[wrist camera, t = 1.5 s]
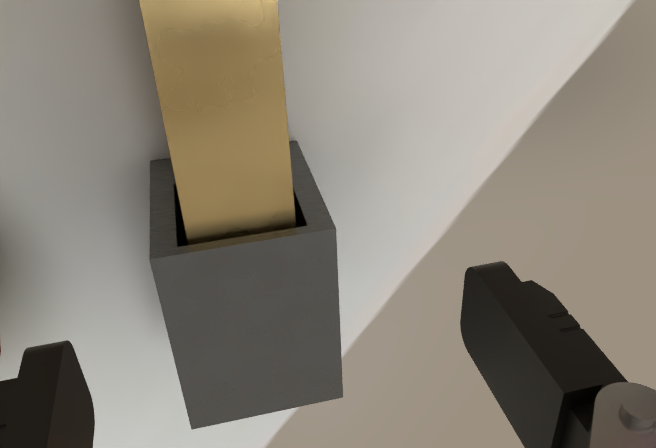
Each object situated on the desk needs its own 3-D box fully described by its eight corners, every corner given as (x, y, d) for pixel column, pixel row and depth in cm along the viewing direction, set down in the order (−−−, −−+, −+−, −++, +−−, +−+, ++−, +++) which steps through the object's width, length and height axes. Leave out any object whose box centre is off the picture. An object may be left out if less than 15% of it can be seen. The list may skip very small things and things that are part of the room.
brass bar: (211, 333, 32) (218, 395, 29) (119, -140, 20) (112, -132, 17) (292, 318, 33) (308, 377, 29) (246, -148, 21) (265, -142, 18)
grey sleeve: (184, 314, 35) (191, 429, 28) (150, 161, 29) (149, 259, 23) (308, 291, 36) (342, 397, 29) (296, 140, 31) (335, 228, 24)
